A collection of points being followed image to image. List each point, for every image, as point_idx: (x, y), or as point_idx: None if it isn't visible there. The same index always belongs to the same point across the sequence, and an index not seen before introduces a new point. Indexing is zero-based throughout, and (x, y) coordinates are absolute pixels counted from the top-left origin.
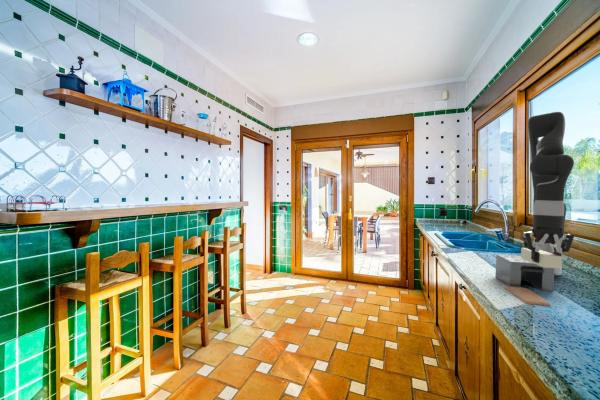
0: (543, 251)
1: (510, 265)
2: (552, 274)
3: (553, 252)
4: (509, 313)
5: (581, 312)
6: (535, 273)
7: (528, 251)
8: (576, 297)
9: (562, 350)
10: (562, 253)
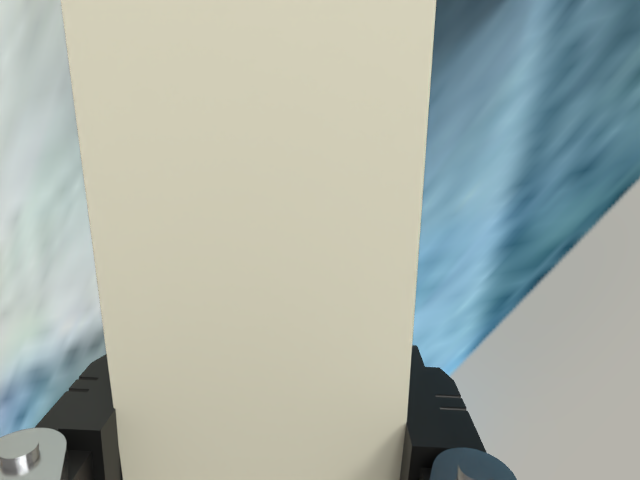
0: (367, 247)
1: None
2: None
3: (410, 462)
4: (19, 430)
5: (420, 340)
6: None
7: (100, 193)
8: (616, 80)
9: None
10: None
